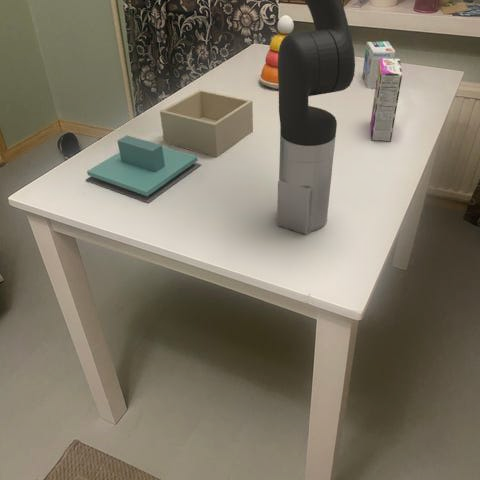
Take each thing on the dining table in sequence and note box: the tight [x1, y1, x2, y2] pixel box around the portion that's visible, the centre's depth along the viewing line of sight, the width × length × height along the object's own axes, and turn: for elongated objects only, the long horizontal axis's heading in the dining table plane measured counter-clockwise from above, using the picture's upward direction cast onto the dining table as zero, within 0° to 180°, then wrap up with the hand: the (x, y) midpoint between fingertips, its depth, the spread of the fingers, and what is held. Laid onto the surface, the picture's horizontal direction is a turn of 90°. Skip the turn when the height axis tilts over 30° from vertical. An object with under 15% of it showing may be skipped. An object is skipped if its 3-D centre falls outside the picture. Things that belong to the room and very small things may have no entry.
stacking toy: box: [258, 14, 295, 90], centre depth 140 cm, size 14×14×20 cm
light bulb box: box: [361, 40, 396, 89], centre depth 141 cm, size 11×7×11 cm, turn 178°
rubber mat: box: [85, 162, 202, 204], centre depth 104 cm, size 18×18×1 cm
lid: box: [86, 134, 199, 196], centre depth 102 cm, size 17×17×7 cm
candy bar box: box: [370, 58, 403, 143], centre depth 112 cm, size 11×5×16 cm, turn 168°
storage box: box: [159, 89, 254, 158], centre depth 116 cm, size 16×16×8 cm
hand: (155, 0), depth 105 cm, fingers open, 8 cm apart
